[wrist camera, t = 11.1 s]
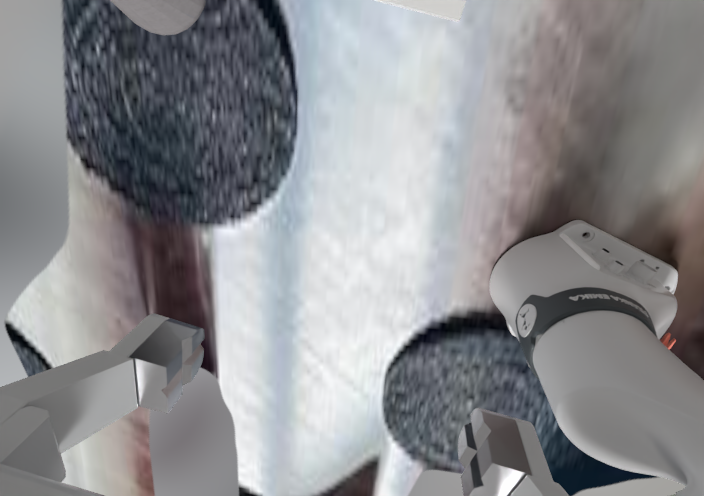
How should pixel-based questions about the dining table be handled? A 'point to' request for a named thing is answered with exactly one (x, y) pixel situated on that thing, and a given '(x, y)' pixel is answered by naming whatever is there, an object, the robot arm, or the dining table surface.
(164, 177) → the dining table surface
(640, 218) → the dining table surface
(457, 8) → the stand
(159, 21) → the coffee pot
